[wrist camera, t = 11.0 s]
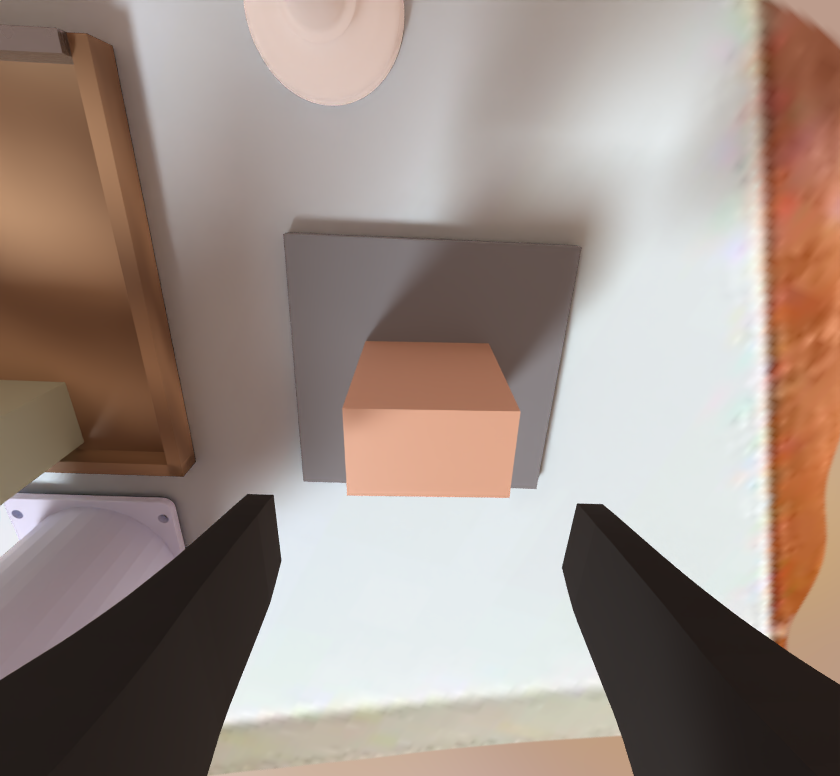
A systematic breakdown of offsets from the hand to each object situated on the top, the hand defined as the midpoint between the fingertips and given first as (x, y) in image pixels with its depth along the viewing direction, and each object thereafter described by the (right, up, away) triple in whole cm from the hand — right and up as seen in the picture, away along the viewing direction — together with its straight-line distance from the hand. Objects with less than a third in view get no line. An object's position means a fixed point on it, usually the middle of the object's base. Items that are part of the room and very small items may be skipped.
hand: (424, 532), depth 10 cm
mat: (0, +4, +8) cm, 9 cm away
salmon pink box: (0, +4, +8) cm, 9 cm away
